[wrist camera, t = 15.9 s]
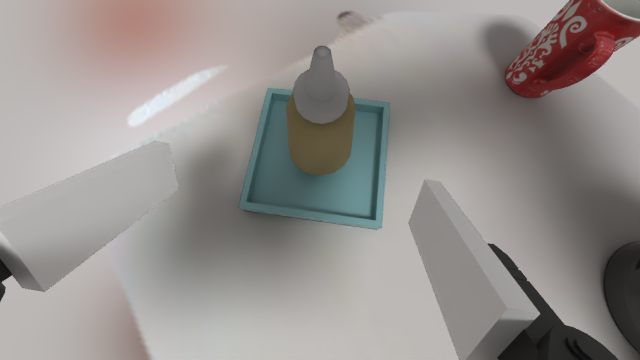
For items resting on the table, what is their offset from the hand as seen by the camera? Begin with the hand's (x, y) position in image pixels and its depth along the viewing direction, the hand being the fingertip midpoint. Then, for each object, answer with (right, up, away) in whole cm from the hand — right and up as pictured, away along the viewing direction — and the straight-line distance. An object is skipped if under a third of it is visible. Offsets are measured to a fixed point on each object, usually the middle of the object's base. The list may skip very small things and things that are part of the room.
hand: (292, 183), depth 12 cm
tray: (+1, +3, +21) cm, 22 cm away
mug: (+34, +15, +25) cm, 45 cm away
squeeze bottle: (+1, +3, +21) cm, 21 cm away
